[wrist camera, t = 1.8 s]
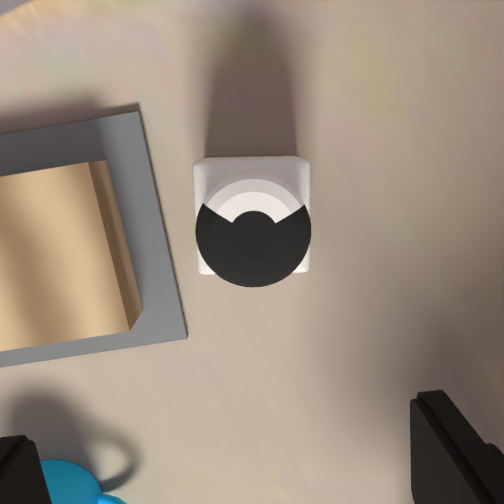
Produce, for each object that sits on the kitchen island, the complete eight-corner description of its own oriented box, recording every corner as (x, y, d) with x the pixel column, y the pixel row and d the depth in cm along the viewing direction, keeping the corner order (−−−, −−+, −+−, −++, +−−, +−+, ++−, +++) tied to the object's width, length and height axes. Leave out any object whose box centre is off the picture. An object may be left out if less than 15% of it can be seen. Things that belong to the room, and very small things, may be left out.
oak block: (107, 160, 32) (87, 162, 28) (143, 310, 35) (129, 331, 31) (-50, 186, 32) (-91, 192, 28) (-2, 333, 35) (-33, 356, 31)
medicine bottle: (297, 247, 34) (323, 300, 23) (207, 249, 34) (186, 303, 23) (298, 155, 33) (325, 161, 21) (203, 157, 33) (178, 164, 21)
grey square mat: (139, 111, 32) (138, 111, 31) (188, 335, 36) (186, 338, 35) (-96, 152, 32) (-103, 152, 32) (-22, 367, 36) (-26, 371, 36)
